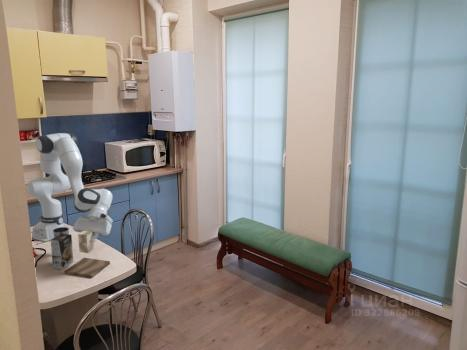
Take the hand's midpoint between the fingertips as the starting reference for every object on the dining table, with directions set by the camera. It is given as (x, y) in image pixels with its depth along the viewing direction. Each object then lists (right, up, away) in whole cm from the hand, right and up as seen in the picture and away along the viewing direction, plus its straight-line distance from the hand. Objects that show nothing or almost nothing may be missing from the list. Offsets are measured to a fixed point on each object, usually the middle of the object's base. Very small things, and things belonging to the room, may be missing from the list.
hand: (86, 240), depth 187 cm
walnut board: (-1, -15, +3) cm, 16 cm away
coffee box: (-15, -14, +7) cm, 22 cm away
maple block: (0, -5, +1) cm, 5 cm away
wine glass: (-21, -11, +19) cm, 31 cm away
